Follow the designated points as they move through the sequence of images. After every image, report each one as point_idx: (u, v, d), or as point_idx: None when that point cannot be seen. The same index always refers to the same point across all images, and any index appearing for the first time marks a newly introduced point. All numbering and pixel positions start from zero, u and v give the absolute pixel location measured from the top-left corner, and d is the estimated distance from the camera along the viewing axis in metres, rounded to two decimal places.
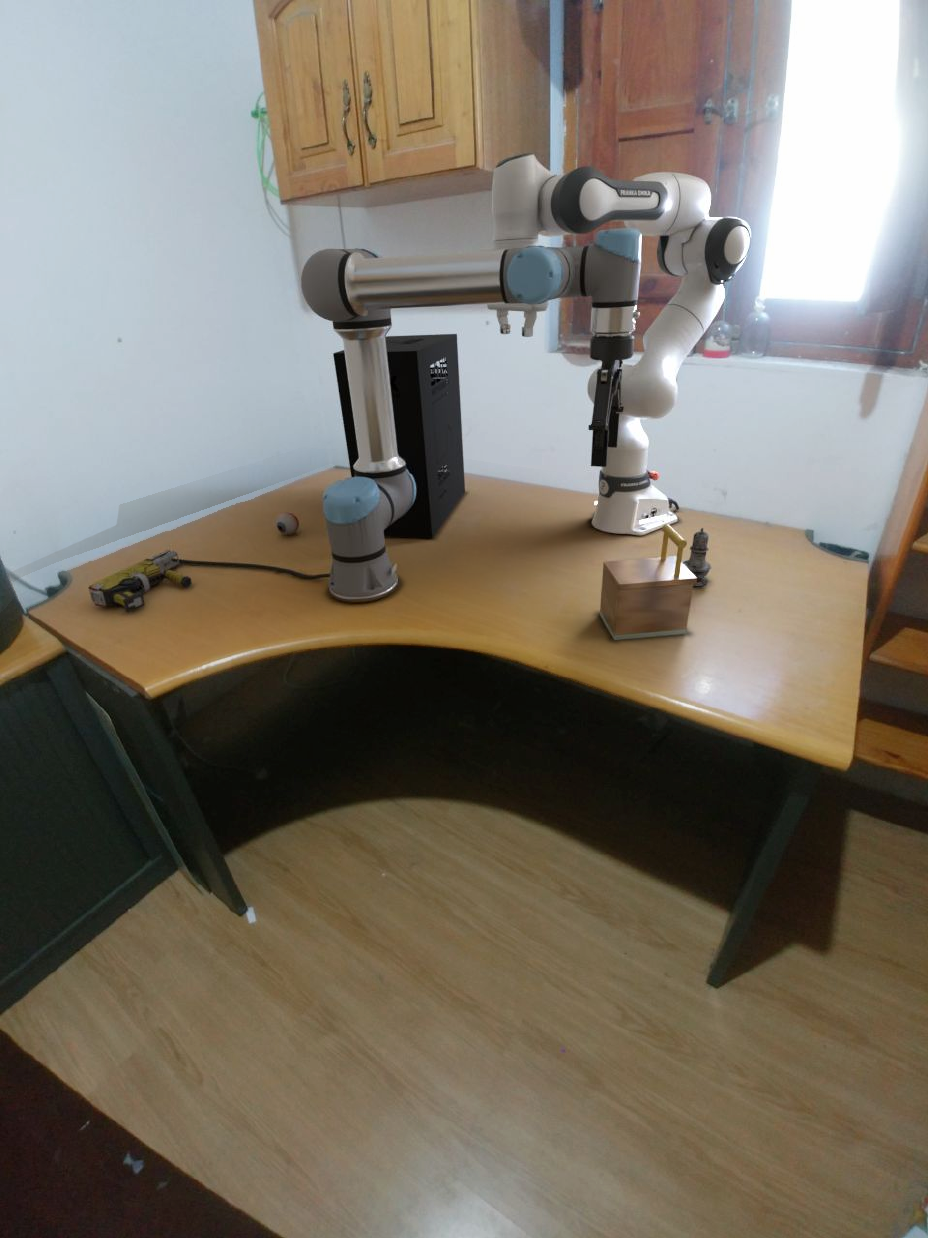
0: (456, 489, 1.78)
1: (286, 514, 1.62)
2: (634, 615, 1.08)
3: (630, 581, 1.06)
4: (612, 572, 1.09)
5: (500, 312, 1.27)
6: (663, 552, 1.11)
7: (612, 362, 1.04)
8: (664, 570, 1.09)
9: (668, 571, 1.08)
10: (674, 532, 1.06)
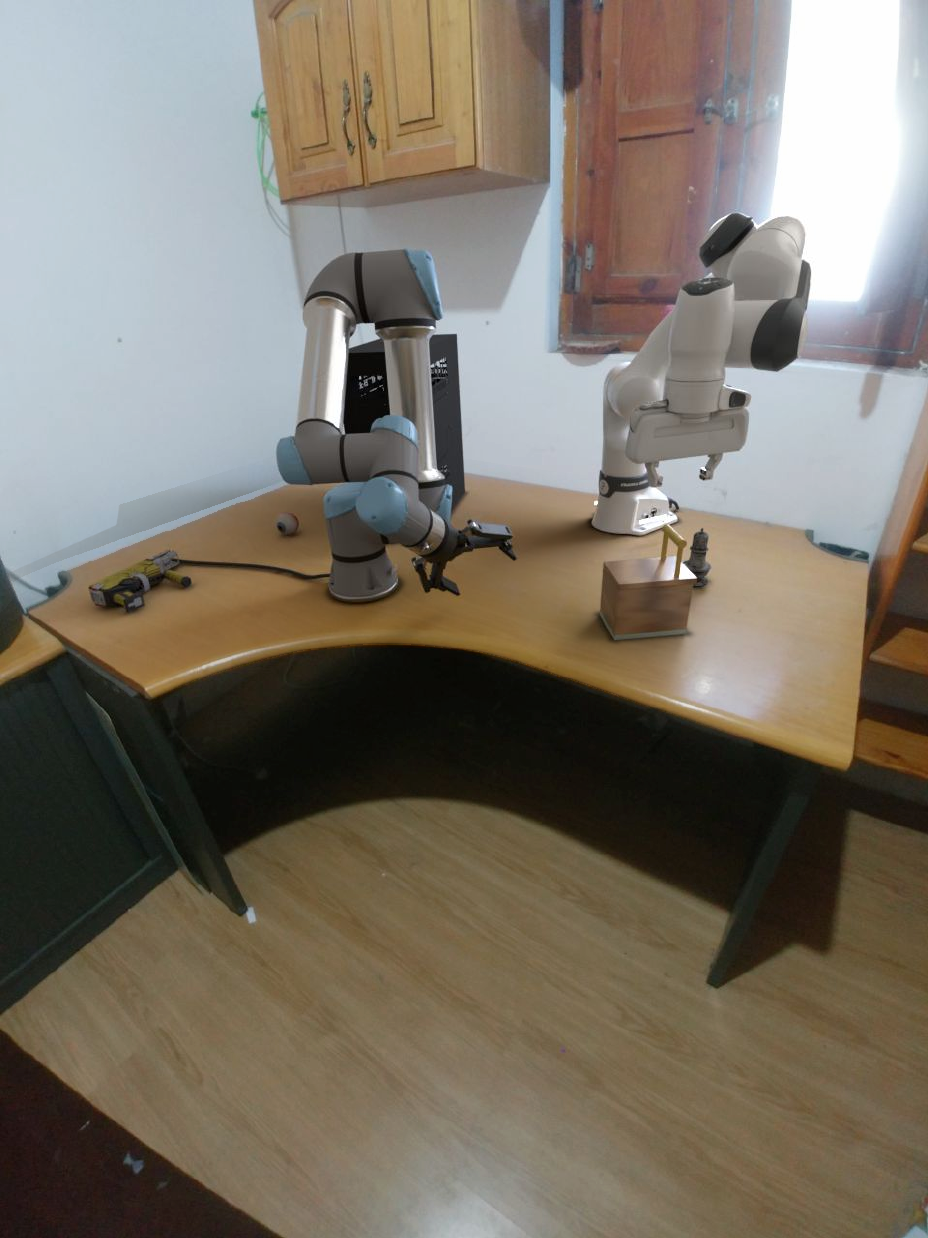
0: (456, 489, 1.78)
1: (286, 514, 1.62)
2: (634, 615, 1.08)
3: (630, 581, 1.06)
4: (612, 572, 1.09)
5: None
6: (663, 552, 1.11)
7: None
8: (664, 570, 1.09)
9: (668, 571, 1.08)
10: (674, 532, 1.06)
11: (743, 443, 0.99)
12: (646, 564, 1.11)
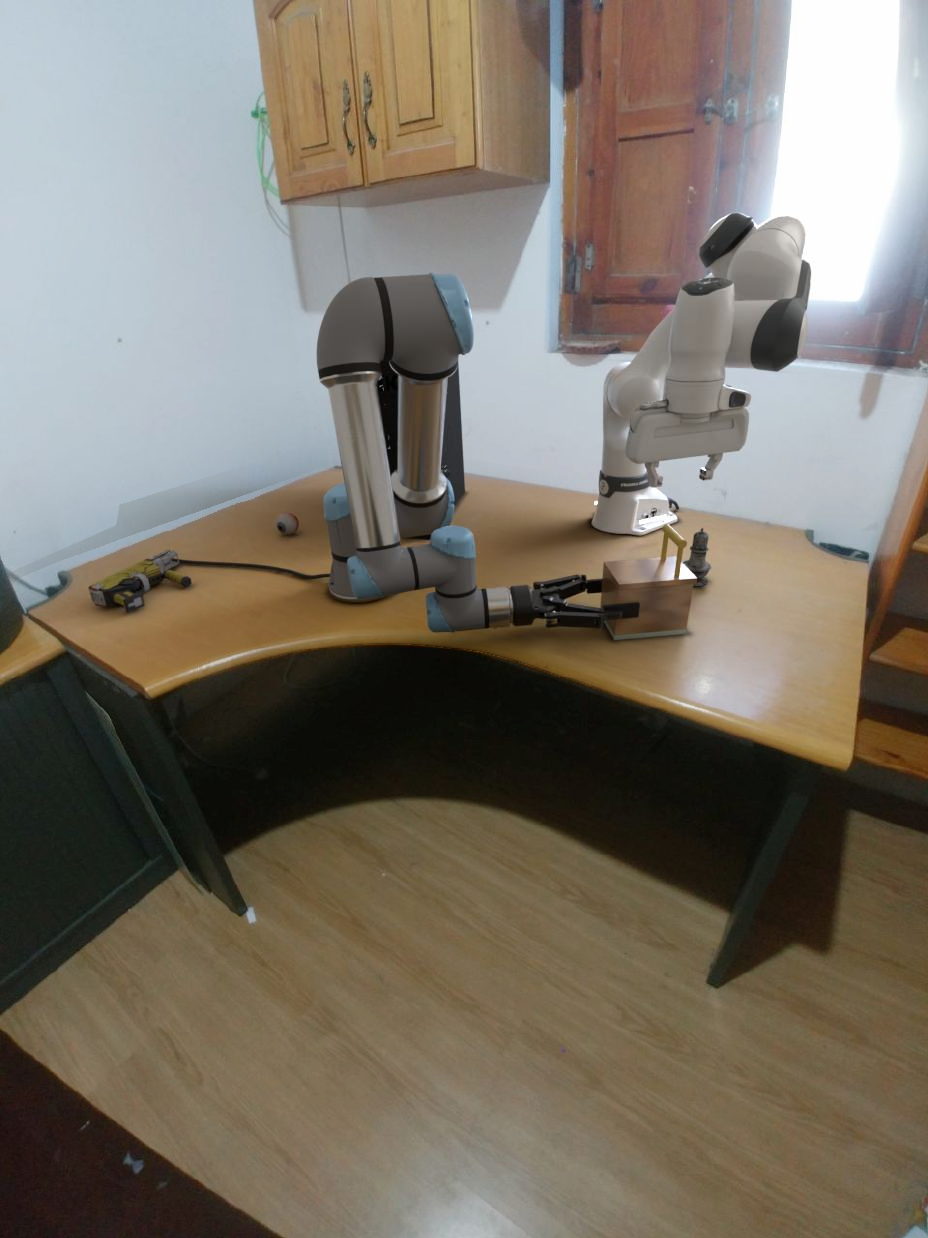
0: (456, 489, 1.78)
1: (286, 514, 1.62)
2: None
3: (630, 581, 1.06)
4: (612, 572, 1.09)
5: None
6: (663, 552, 1.11)
7: None
8: (664, 570, 1.09)
9: (668, 571, 1.08)
10: (674, 532, 1.06)
11: (743, 443, 0.99)
12: (646, 564, 1.11)
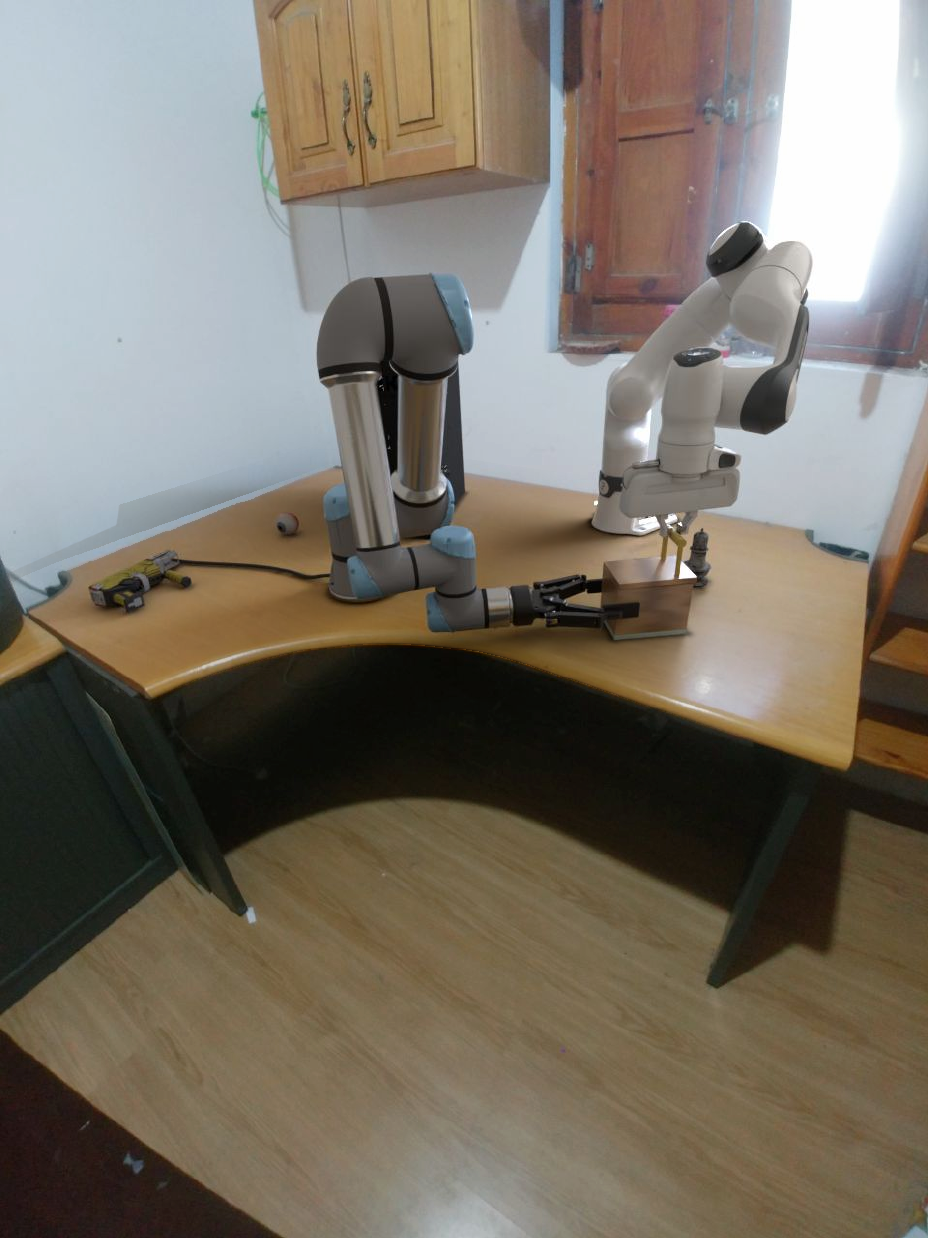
0: (456, 489, 1.78)
1: (286, 514, 1.62)
2: None
3: (630, 581, 1.06)
4: (612, 572, 1.09)
5: None
6: (663, 551, 1.11)
7: None
8: (664, 569, 1.09)
9: (668, 570, 1.08)
10: (674, 531, 1.06)
11: (734, 499, 1.03)
12: (646, 564, 1.11)
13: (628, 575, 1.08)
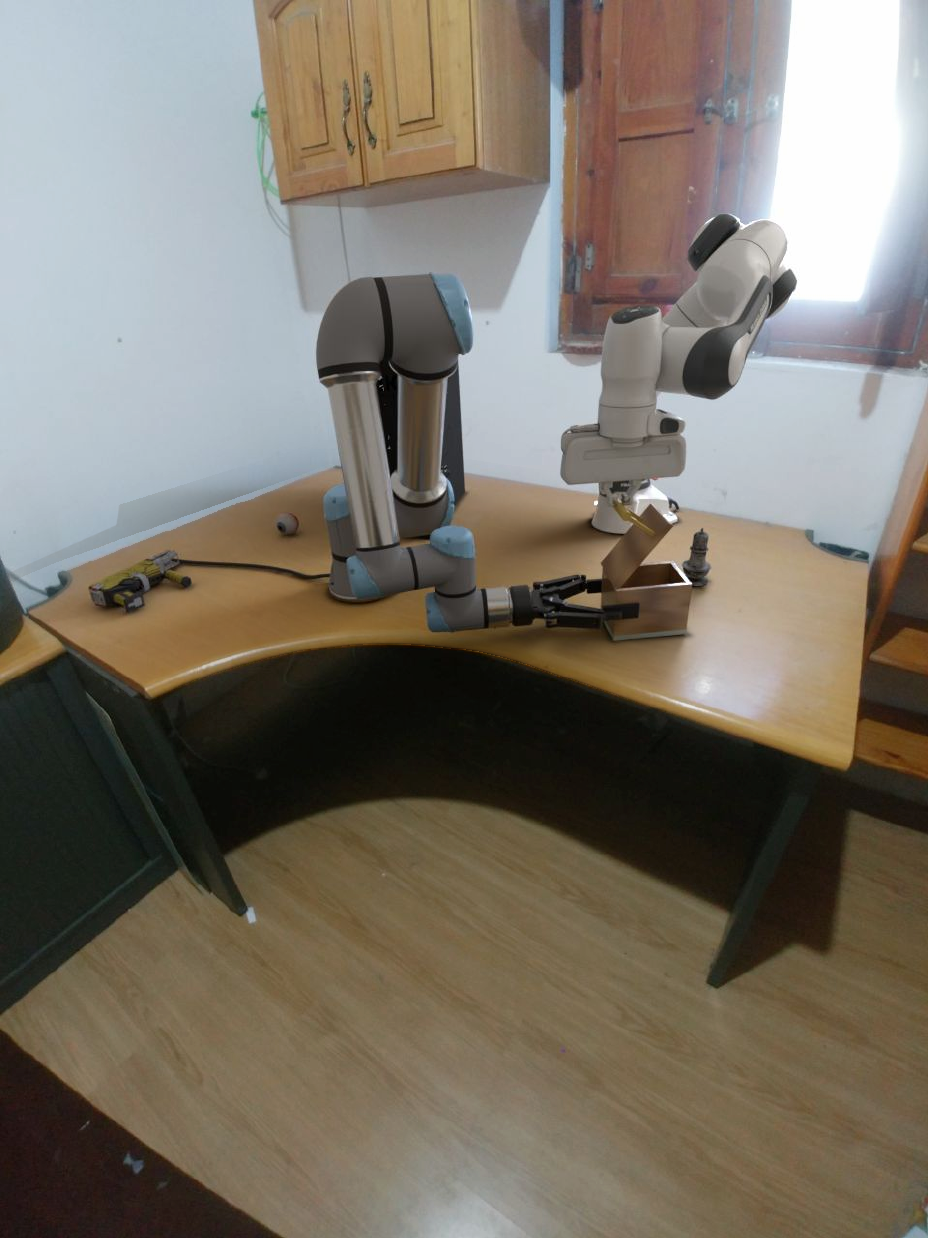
0: (456, 489, 1.78)
1: (286, 514, 1.62)
2: None
3: (621, 575, 1.05)
4: (607, 573, 1.09)
5: None
6: (633, 516, 1.07)
7: None
8: (643, 534, 1.05)
9: (646, 533, 1.04)
10: (616, 507, 1.02)
11: (682, 469, 0.99)
12: (630, 538, 1.08)
13: (619, 567, 1.07)
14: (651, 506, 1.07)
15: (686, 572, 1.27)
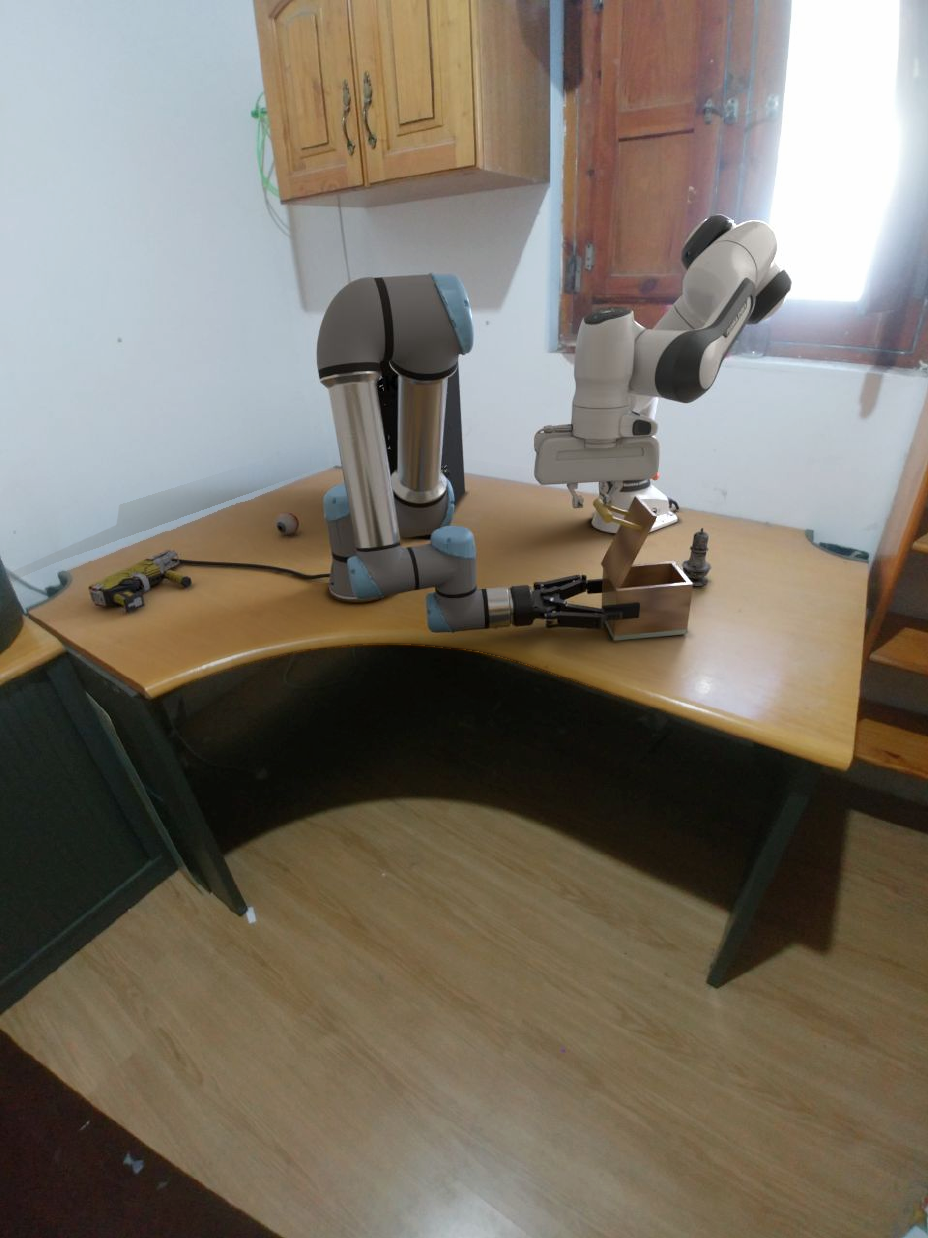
0: (456, 489, 1.78)
1: (286, 514, 1.62)
2: None
3: (618, 574, 1.05)
4: (607, 573, 1.09)
5: None
6: (620, 513, 1.06)
7: None
8: (632, 529, 1.04)
9: None
10: (598, 510, 1.03)
11: (655, 471, 0.99)
12: (622, 534, 1.08)
13: (616, 566, 1.06)
14: (636, 499, 1.06)
15: (686, 572, 1.27)
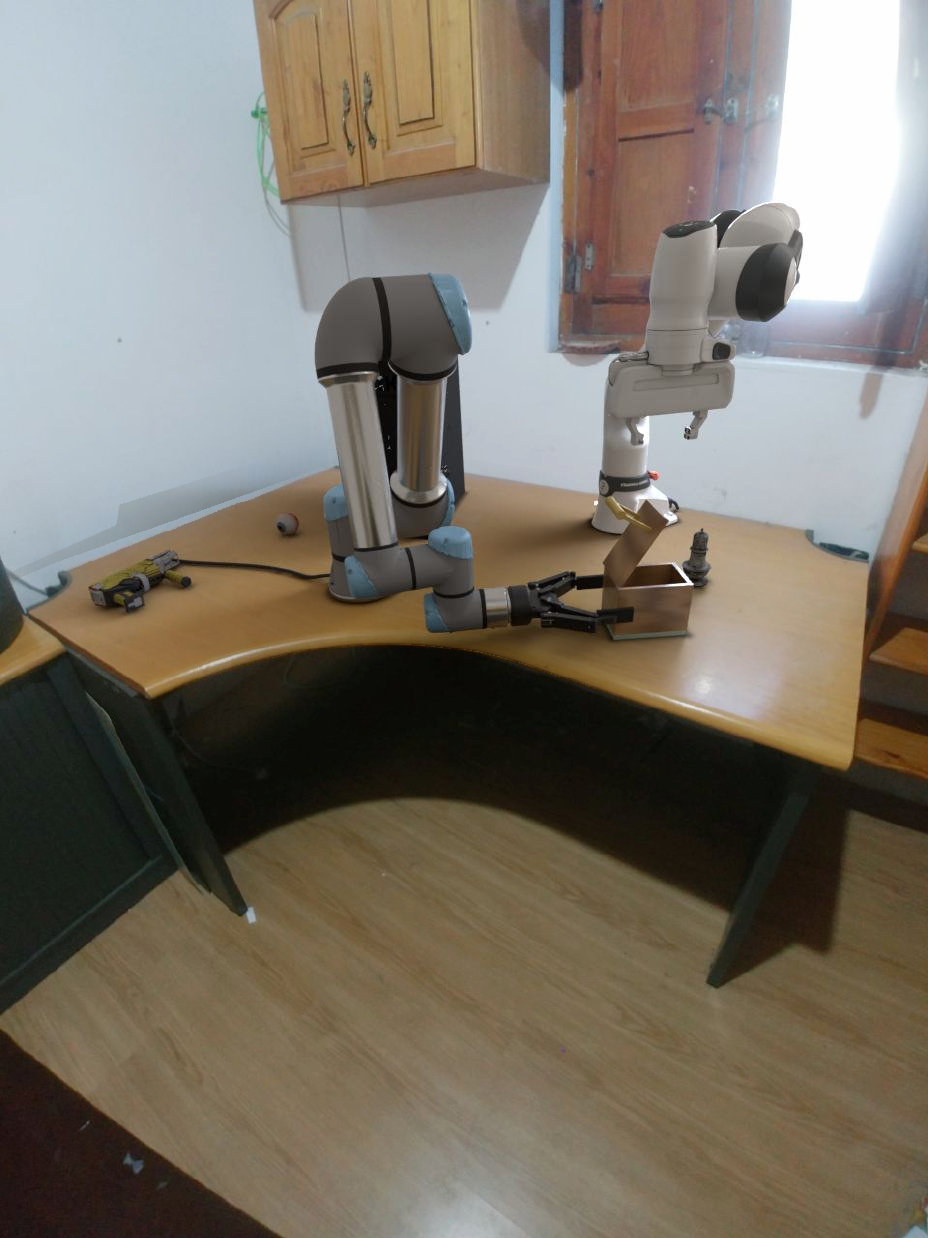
0: (456, 489, 1.78)
1: (286, 514, 1.62)
2: (634, 615, 1.08)
3: (622, 573, 1.05)
4: (609, 572, 1.09)
5: (693, 411, 0.97)
6: (630, 514, 1.07)
7: None
8: (641, 531, 1.05)
9: (644, 529, 1.04)
10: (611, 506, 1.03)
11: (729, 400, 0.95)
12: (628, 535, 1.08)
13: (619, 566, 1.07)
14: (647, 502, 1.07)
15: (686, 572, 1.27)
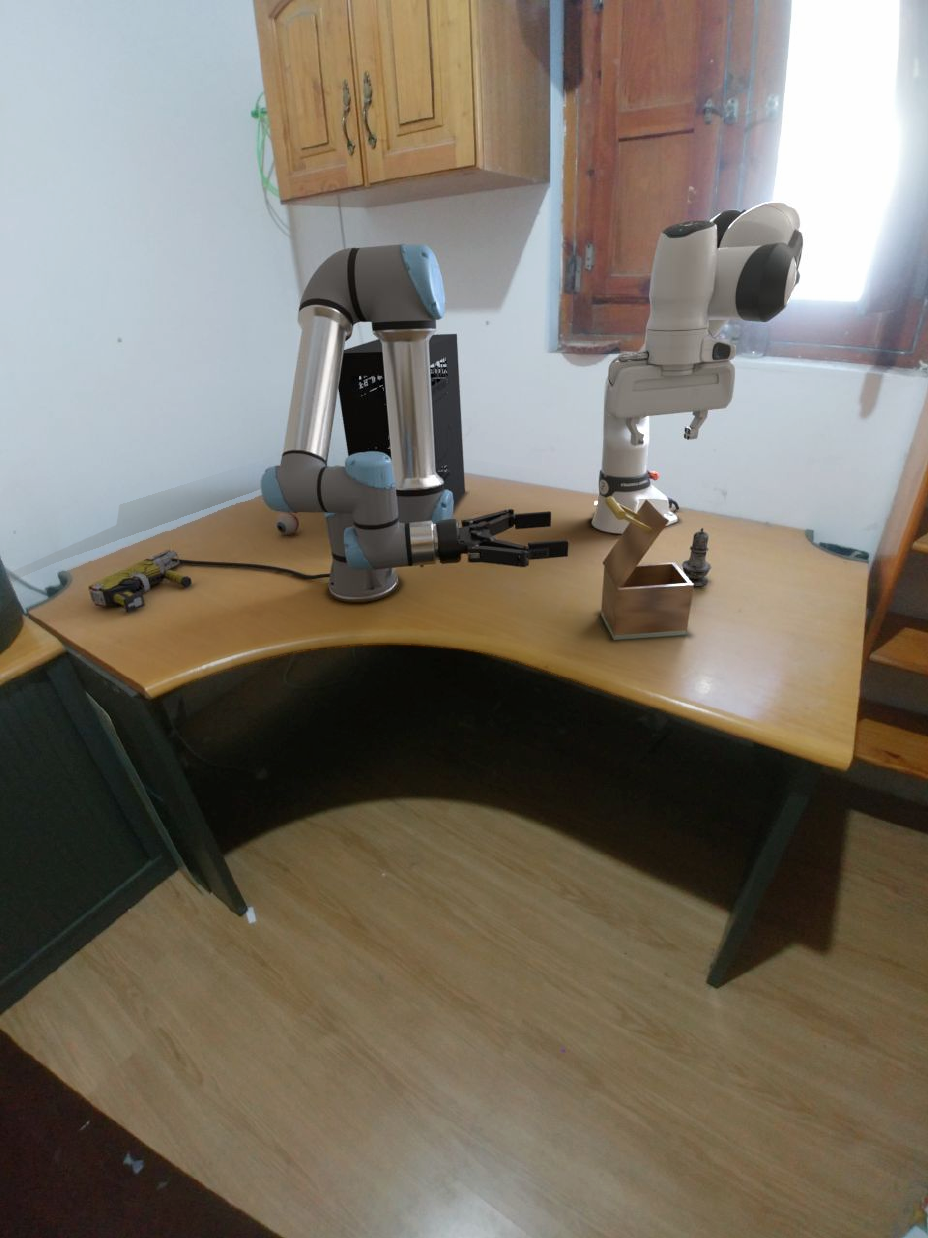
0: (456, 489, 1.78)
1: (286, 514, 1.62)
2: (634, 615, 1.08)
3: (622, 573, 1.05)
4: (609, 572, 1.09)
5: (693, 411, 0.97)
6: (630, 514, 1.07)
7: None
8: (641, 531, 1.05)
9: (644, 529, 1.04)
10: (611, 506, 1.03)
11: (729, 400, 0.95)
12: (628, 535, 1.08)
13: (619, 566, 1.07)
14: (647, 502, 1.07)
15: (686, 572, 1.27)
